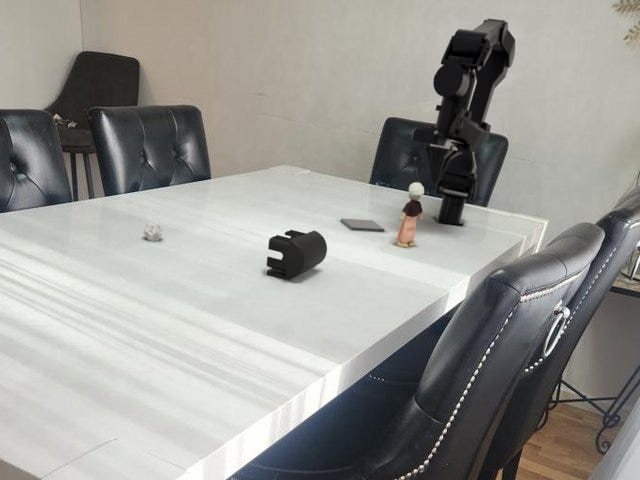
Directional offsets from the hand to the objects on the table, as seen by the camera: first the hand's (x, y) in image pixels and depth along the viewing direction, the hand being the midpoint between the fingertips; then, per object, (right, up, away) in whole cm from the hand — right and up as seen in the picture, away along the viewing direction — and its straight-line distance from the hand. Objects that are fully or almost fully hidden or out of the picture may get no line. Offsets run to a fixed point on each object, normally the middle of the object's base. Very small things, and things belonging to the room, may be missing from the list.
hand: (434, 183), depth 142 cm
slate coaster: (-15, -6, +8) cm, 18 cm away
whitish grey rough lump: (-58, -20, -20) cm, 65 cm away
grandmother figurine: (-7, -14, -2) cm, 16 cm away
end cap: (-31, -29, -28) cm, 51 cm away
